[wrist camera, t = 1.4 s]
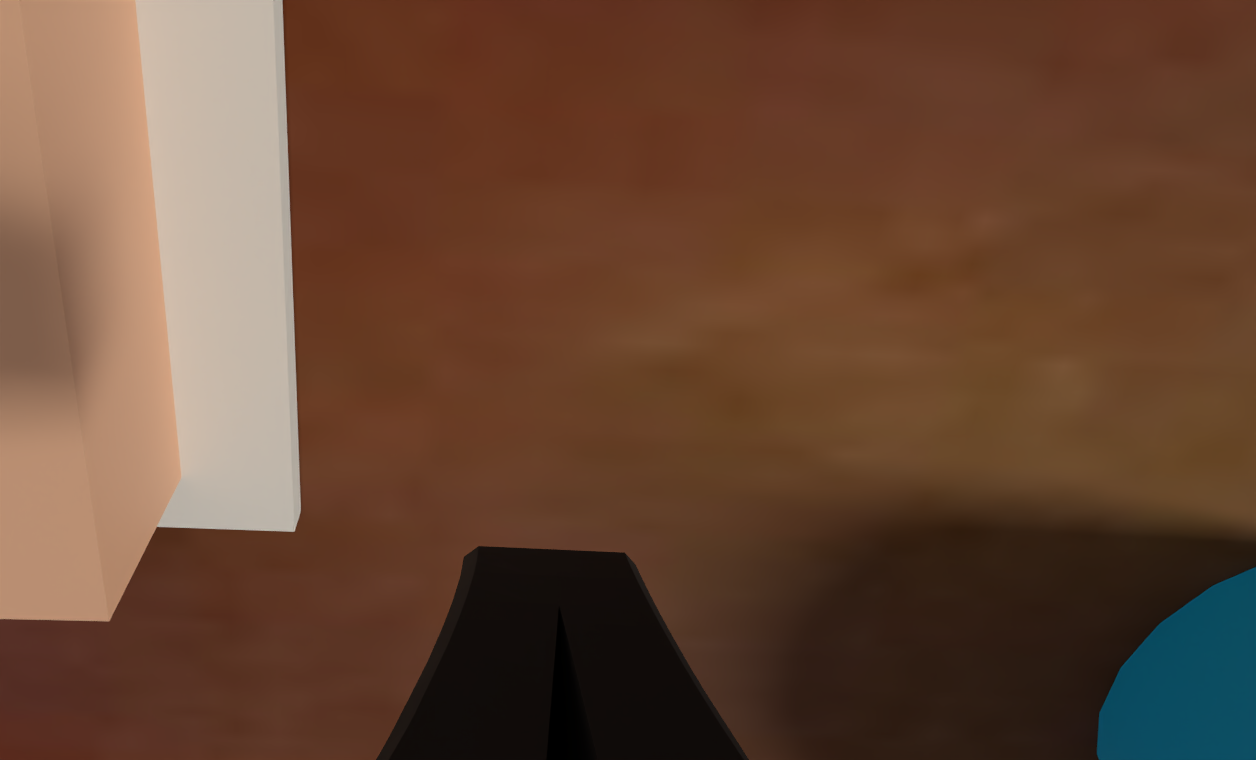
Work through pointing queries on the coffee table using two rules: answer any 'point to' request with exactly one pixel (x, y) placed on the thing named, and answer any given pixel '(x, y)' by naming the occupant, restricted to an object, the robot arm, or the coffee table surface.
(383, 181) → the coffee table surface
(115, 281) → the t block
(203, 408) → the push mat
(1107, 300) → the coffee table surface
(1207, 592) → the mug
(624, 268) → the coffee table surface
